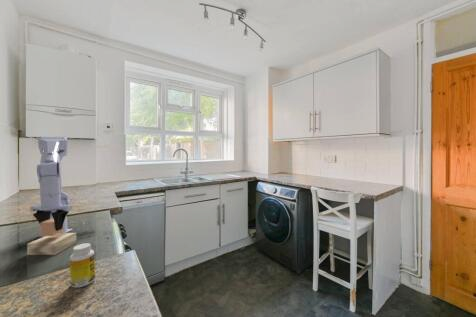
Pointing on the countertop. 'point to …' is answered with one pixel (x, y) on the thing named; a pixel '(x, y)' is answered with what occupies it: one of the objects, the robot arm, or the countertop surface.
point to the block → (49, 228)
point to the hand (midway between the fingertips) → (52, 229)
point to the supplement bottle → (82, 265)
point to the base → (51, 244)
